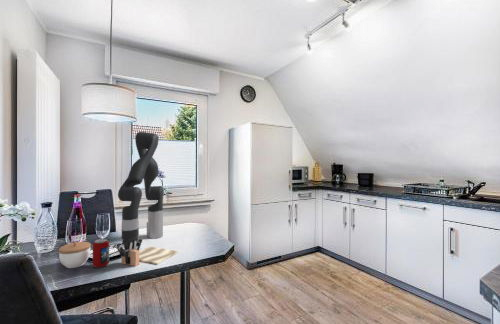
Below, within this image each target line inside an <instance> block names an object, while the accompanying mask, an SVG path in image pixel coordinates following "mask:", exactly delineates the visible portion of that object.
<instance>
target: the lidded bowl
mask: <svg viewBox="0 0 500 324" xmlns="http://www.w3.org/2000/svg"><path fill="white" fill-rule="evenodd" d="M91 247H92V243H91V242H89V241H88V242H87V241H74V242H72V243H68V244H65V245H62V246H61V247H59V248H58V257H59V261H60V263H61V264H62V266H64V267H66V269H75V268H78V267H81V266H83V265H85V263H86V262H87V260H88V259H89V258H90V255H91Z"/></svg>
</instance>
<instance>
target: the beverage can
mask: <svg viewBox="0 0 500 324" xmlns="http://www.w3.org/2000/svg"><path fill="white" fill-rule="evenodd" d="M109 263H110V242H109V240H108V239H107V238H98V239H95V240H94V242H93V244H92V266H93V267H95V268H104V267H105V266H107V265H108V264H109Z"/></svg>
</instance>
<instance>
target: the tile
mask: <svg viewBox="0 0 500 324" xmlns="http://www.w3.org/2000/svg"><path fill="white" fill-rule="evenodd" d="M136 249H137V248H136ZM136 249H131V252H130V264H126V263H125V257H122V256H121V265H122V264H123V265H128V266H133V267H137V266H139V265H140V261H139V251H140V249H139V250H136ZM128 250H129V249H128ZM127 254H128V252H127Z"/></svg>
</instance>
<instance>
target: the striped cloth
mask: <svg viewBox="0 0 500 324" xmlns="http://www.w3.org/2000/svg"><path fill="white" fill-rule="evenodd" d="M176 253H177V254H178V253H179V251H178V250H173V249H168V248H167V249H166V248H160V247H154V246H147V247H145V248H143V249H141V250H140V249H139V262H141V263H148V264H152V265H157V266H158V265H160V264H161V263H163V262H164V261H166V260H168V259H170V258H172V257H173V256H175V255H176Z"/></svg>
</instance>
